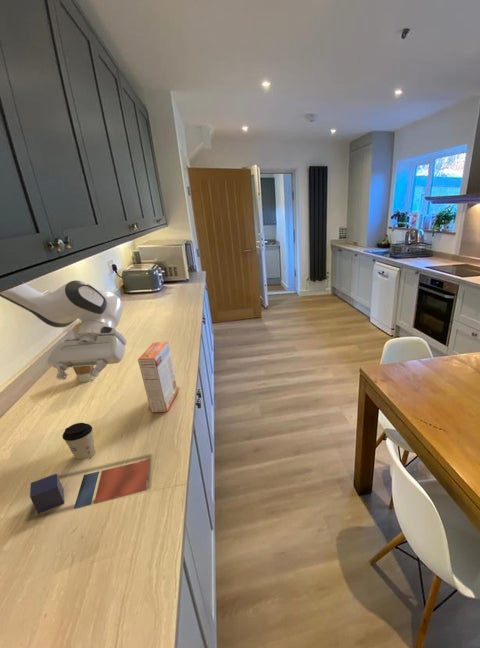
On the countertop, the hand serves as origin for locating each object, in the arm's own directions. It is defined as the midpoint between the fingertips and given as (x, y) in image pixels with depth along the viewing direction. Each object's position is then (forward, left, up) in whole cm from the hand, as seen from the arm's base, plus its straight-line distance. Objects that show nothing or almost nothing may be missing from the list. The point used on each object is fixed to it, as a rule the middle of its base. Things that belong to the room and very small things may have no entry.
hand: (76, 377), depth 88 cm
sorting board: (+3, -19, -23) cm, 30 cm away
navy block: (-6, -21, -22) cm, 31 cm away
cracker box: (+19, +17, -23) cm, 34 cm away
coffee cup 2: (-2, -5, -23) cm, 23 cm away
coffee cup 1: (-11, +47, -23) cm, 53 cm away
